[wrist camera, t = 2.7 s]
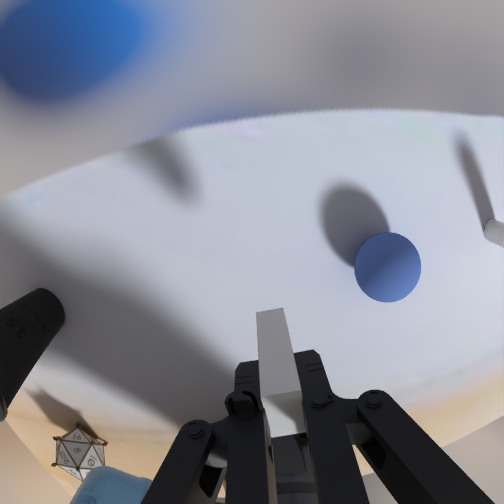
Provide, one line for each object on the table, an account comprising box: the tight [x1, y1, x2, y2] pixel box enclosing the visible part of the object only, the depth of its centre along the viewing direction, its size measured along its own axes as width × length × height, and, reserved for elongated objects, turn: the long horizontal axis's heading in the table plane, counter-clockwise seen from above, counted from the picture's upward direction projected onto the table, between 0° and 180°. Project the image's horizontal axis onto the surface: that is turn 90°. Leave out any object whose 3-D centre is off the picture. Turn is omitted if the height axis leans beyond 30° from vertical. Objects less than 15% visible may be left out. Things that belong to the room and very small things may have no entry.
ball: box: [354, 232, 421, 302], centre depth 22 cm, size 6×6×6 cm
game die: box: [51, 422, 108, 482], centre depth 28 cm, size 9×8×10 cm
